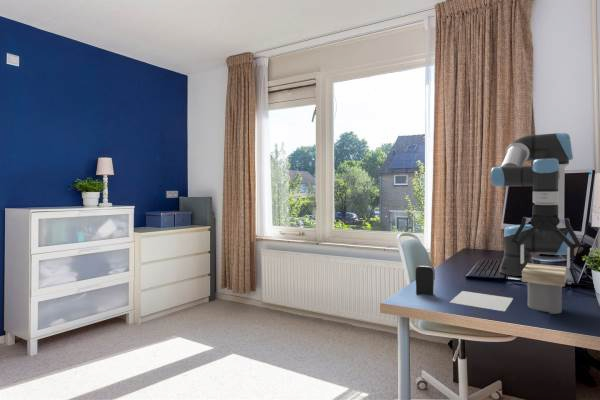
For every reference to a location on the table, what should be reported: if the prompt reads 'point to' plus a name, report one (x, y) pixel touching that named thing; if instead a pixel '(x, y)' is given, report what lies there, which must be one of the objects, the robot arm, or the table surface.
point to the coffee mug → (545, 297)
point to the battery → (425, 280)
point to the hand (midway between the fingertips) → (544, 265)
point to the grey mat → (482, 300)
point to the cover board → (544, 274)
